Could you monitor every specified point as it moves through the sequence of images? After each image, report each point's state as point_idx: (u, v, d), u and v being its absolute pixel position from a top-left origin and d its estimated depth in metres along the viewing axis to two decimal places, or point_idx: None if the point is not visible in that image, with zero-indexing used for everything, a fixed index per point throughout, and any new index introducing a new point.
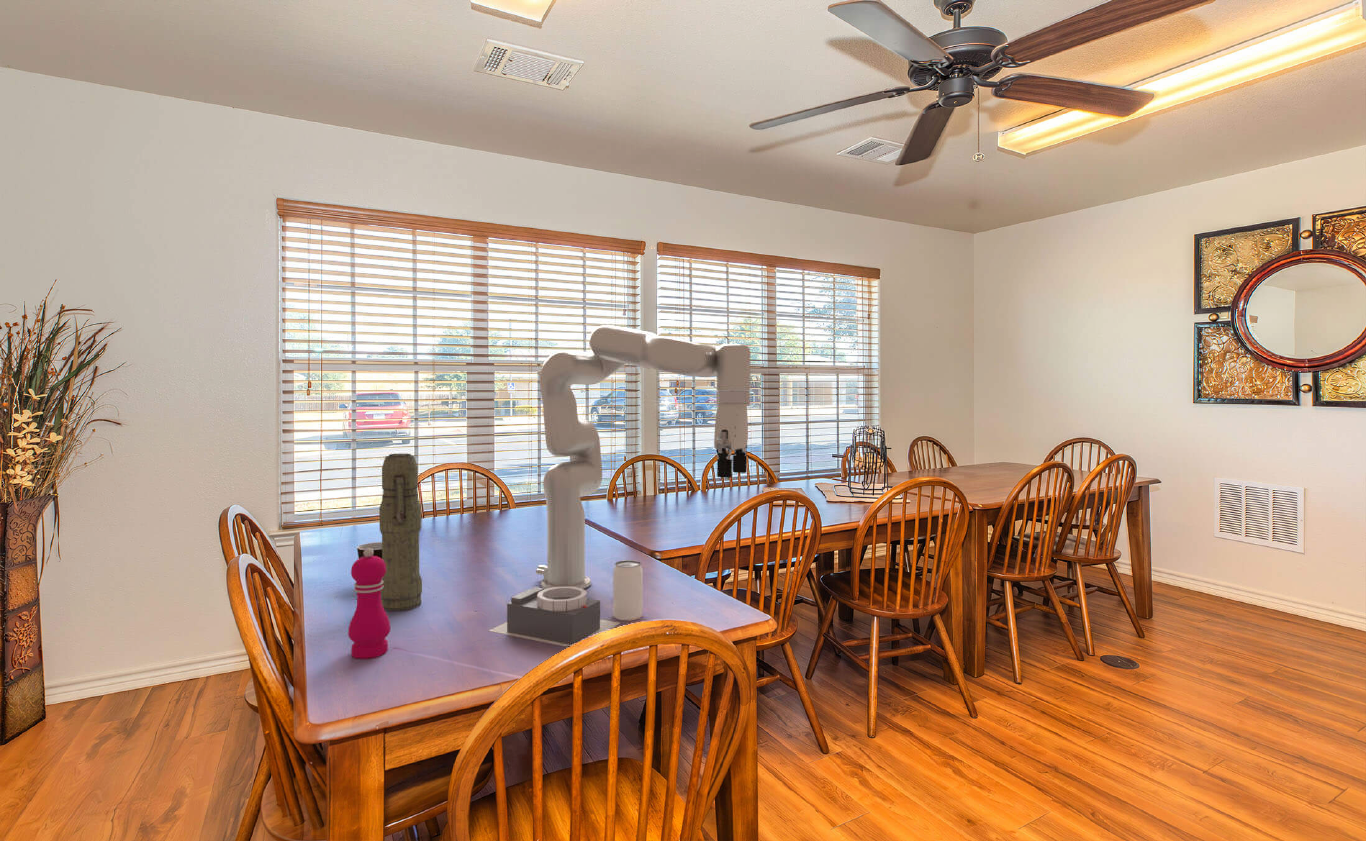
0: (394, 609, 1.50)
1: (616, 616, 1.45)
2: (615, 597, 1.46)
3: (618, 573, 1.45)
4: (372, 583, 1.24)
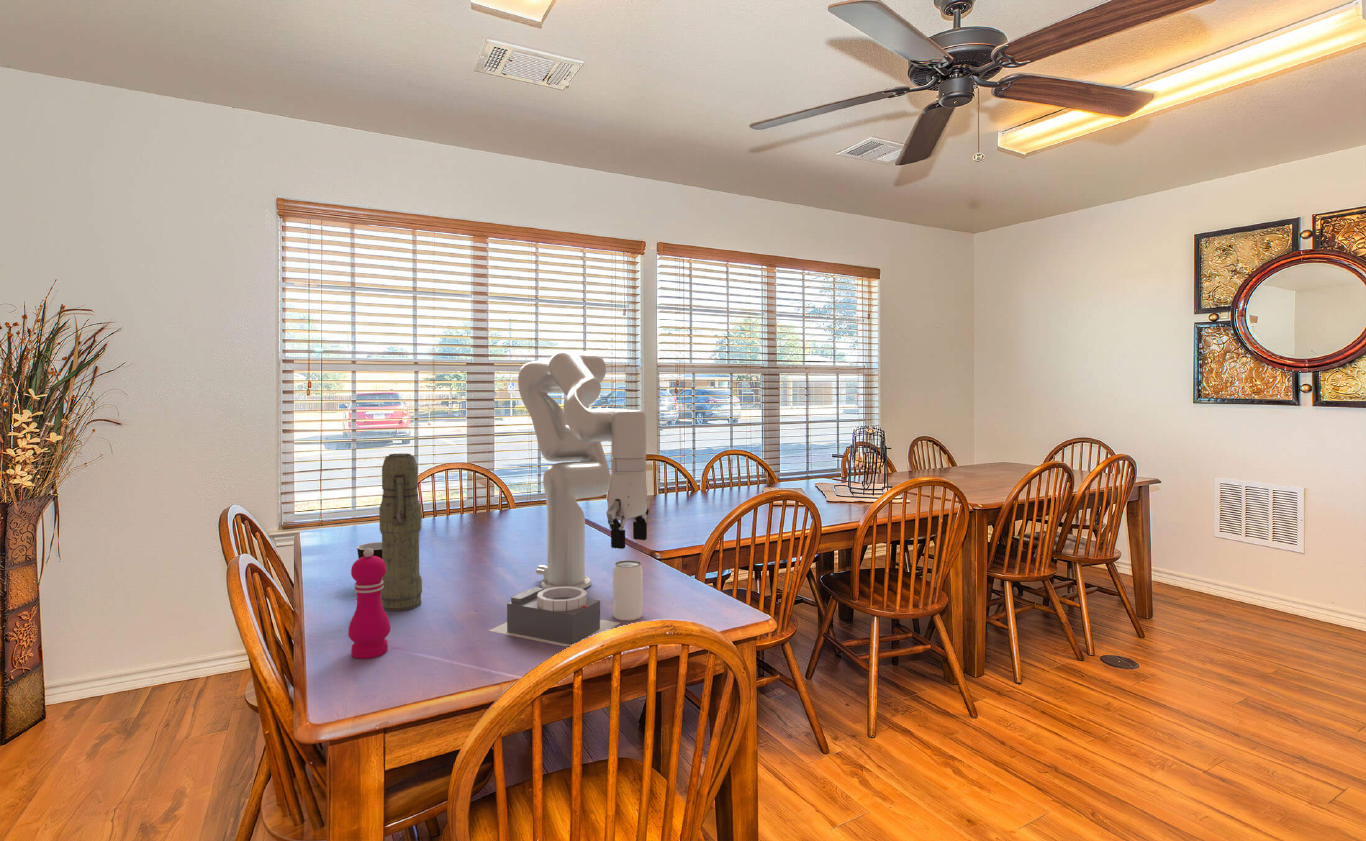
0: (394, 609, 1.50)
1: (616, 616, 1.45)
2: (615, 597, 1.46)
3: (618, 573, 1.45)
4: (372, 583, 1.24)
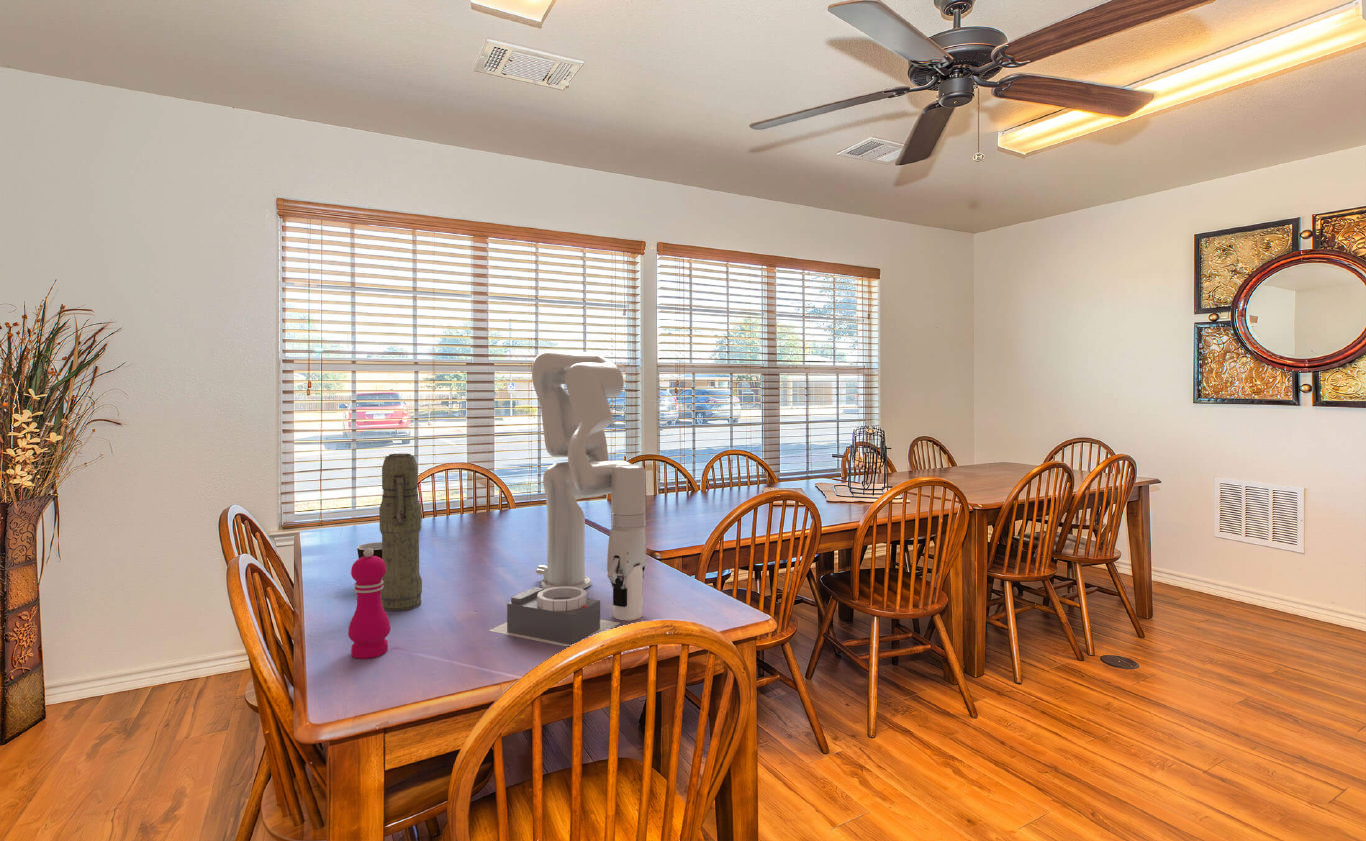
0: (394, 609, 1.50)
1: (616, 616, 1.45)
2: None
3: None
4: (372, 583, 1.24)
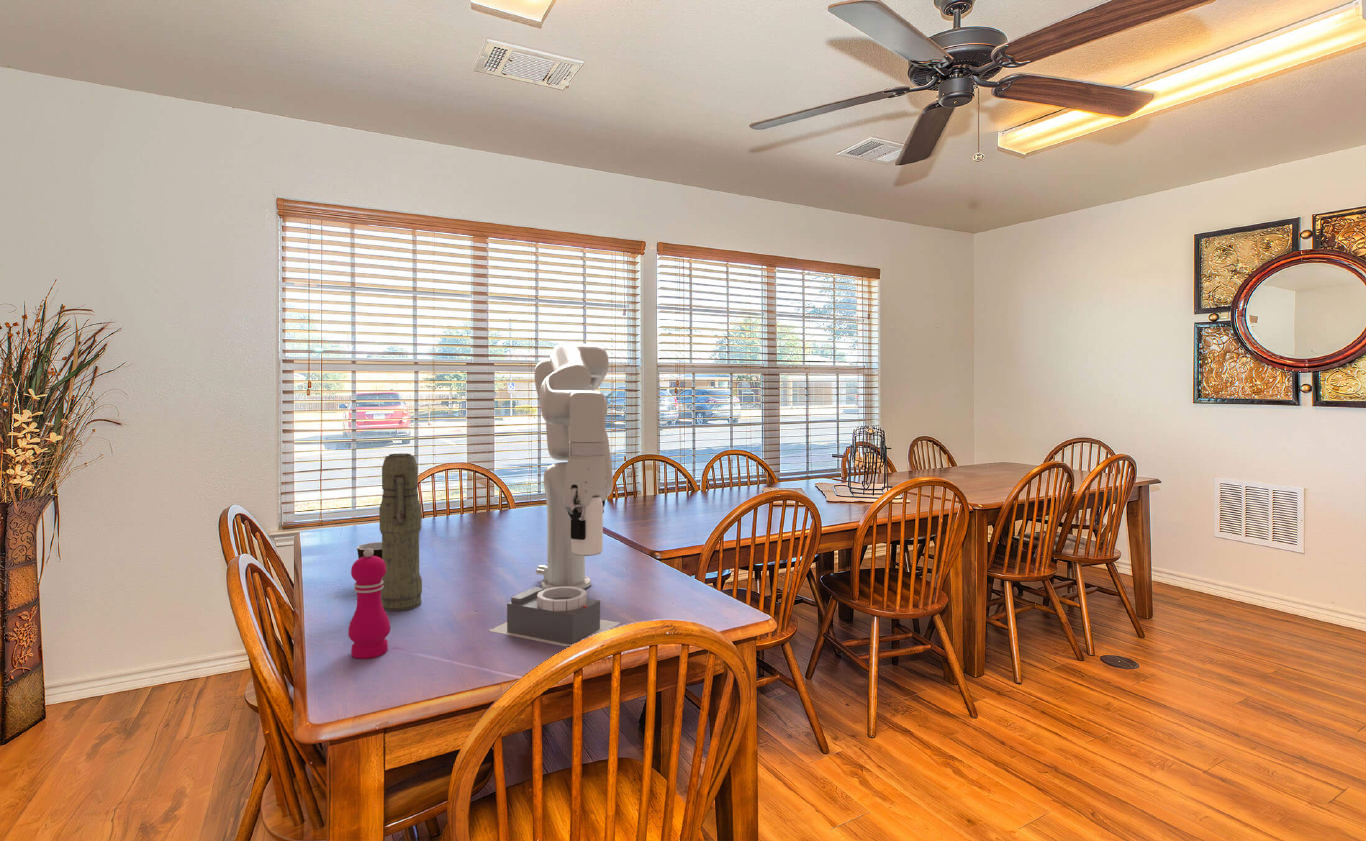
0: (394, 609, 1.50)
1: (574, 551, 1.37)
2: None
3: None
4: (372, 583, 1.24)
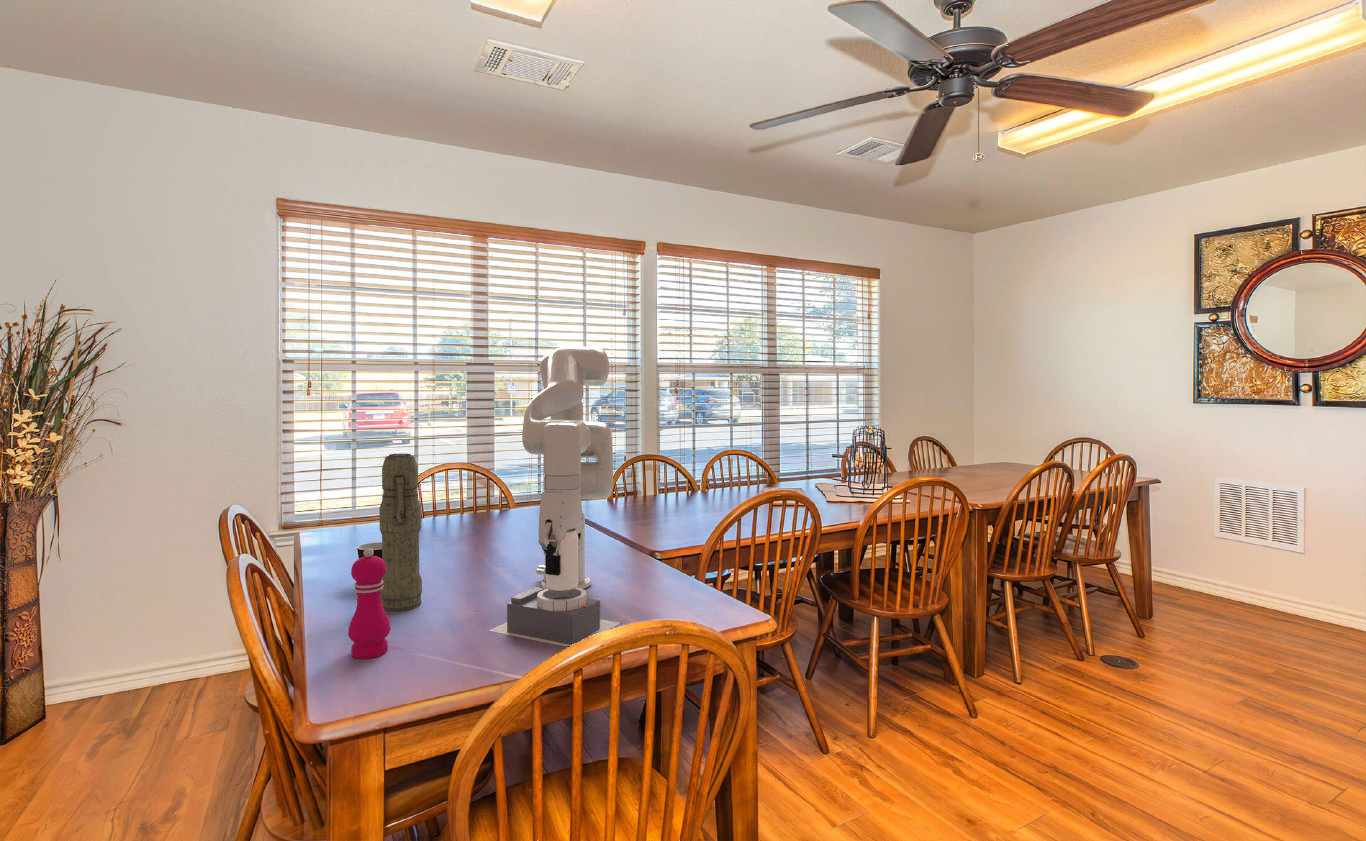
0: (394, 609, 1.50)
1: (549, 586, 1.34)
2: None
3: None
4: (372, 583, 1.24)
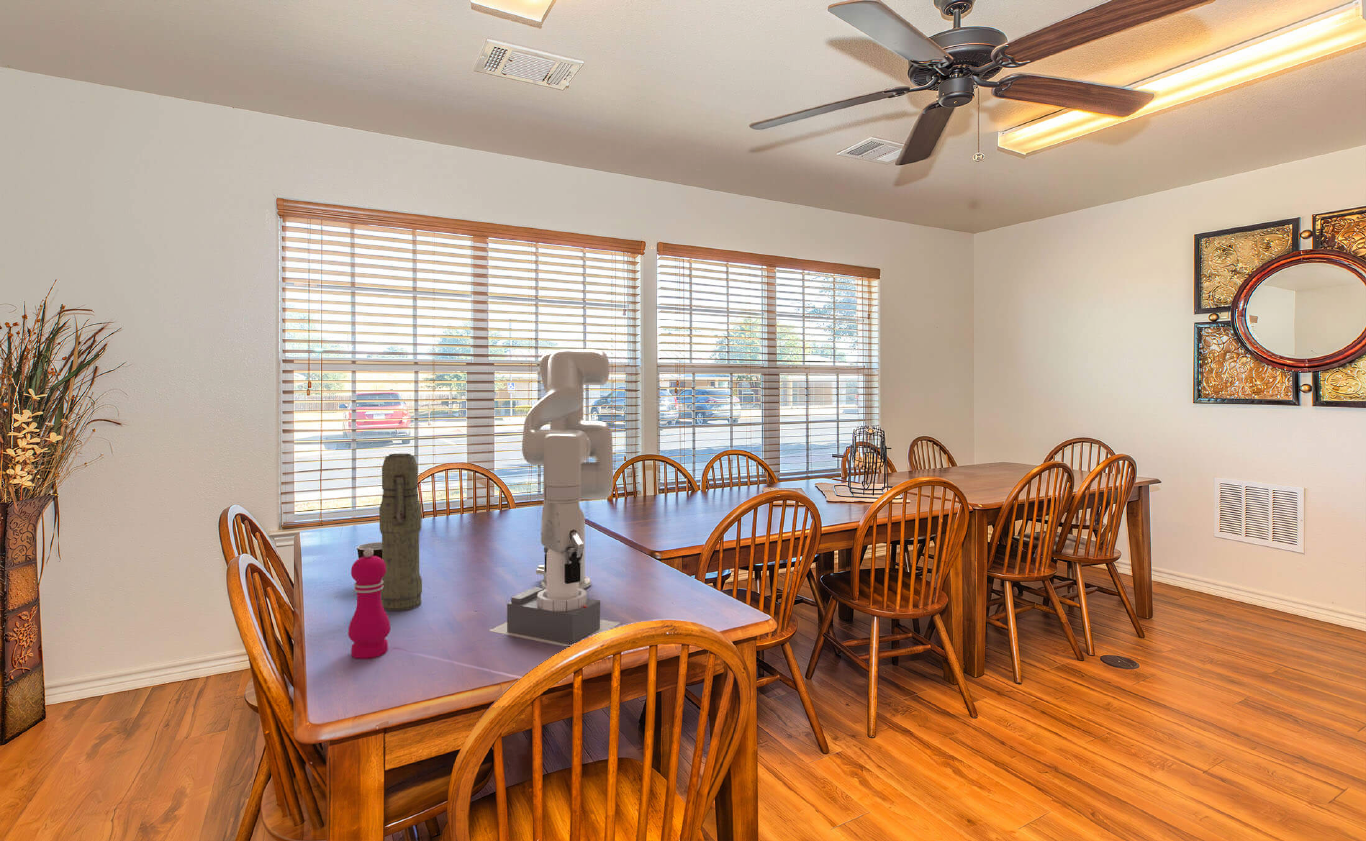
0: (394, 609, 1.50)
1: None
2: (561, 584, 1.33)
3: None
4: (372, 583, 1.24)
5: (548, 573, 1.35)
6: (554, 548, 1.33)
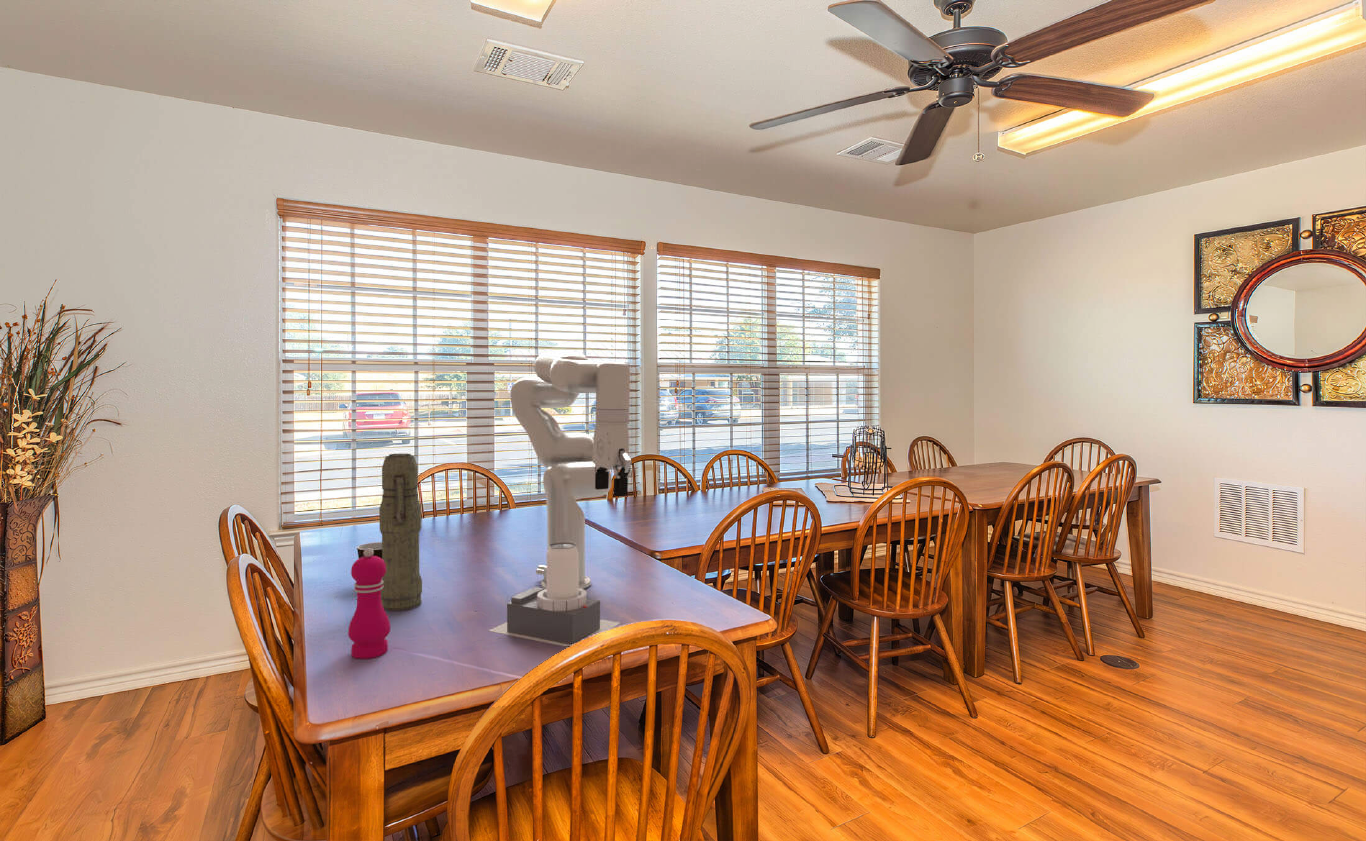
0: (394, 609, 1.50)
1: None
2: (561, 584, 1.33)
3: (566, 556, 1.34)
4: (372, 583, 1.24)
5: (548, 573, 1.35)
6: (604, 465, 1.47)
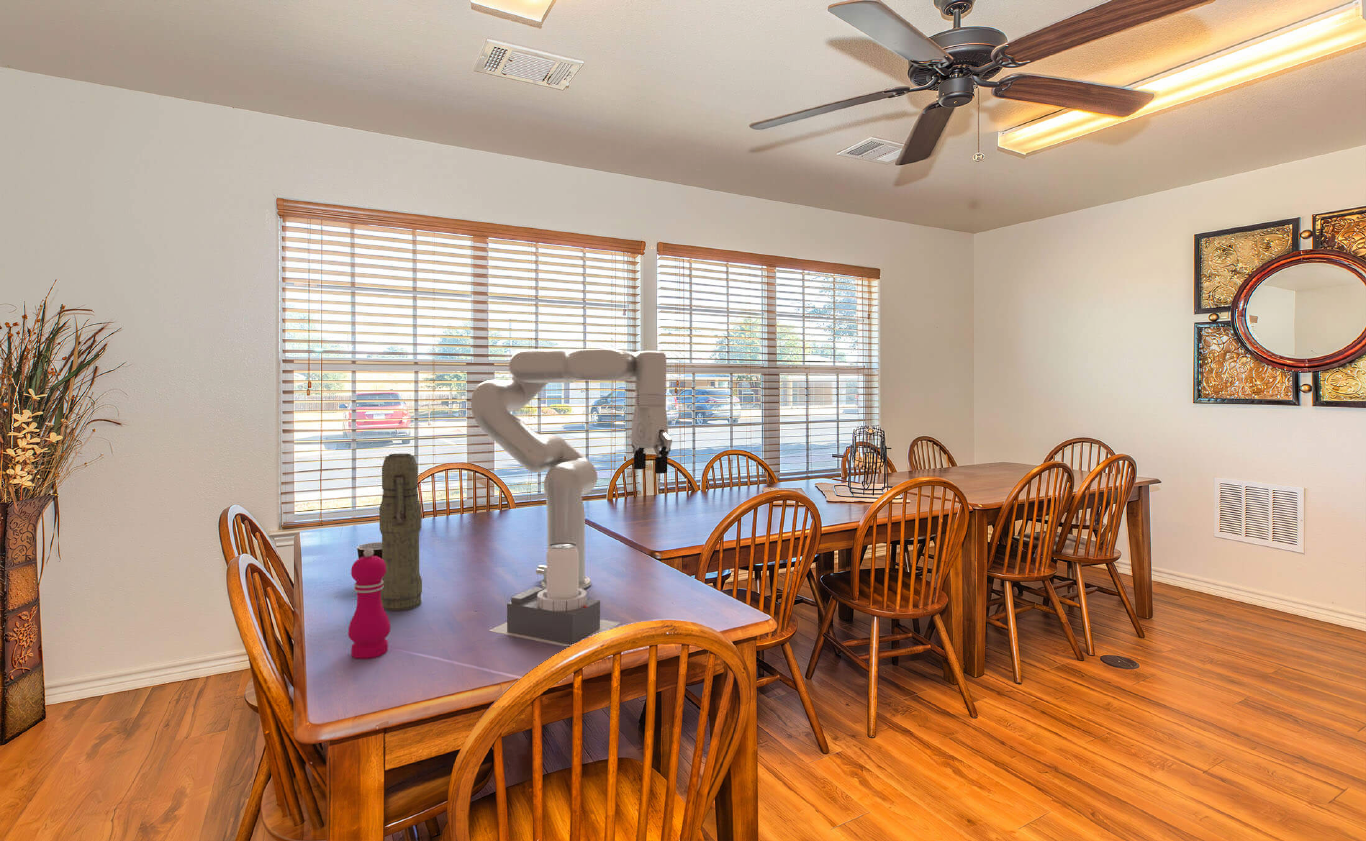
0: (394, 609, 1.50)
1: None
2: (561, 584, 1.33)
3: (566, 556, 1.34)
4: (372, 583, 1.24)
5: (548, 573, 1.35)
6: (646, 445, 1.60)
